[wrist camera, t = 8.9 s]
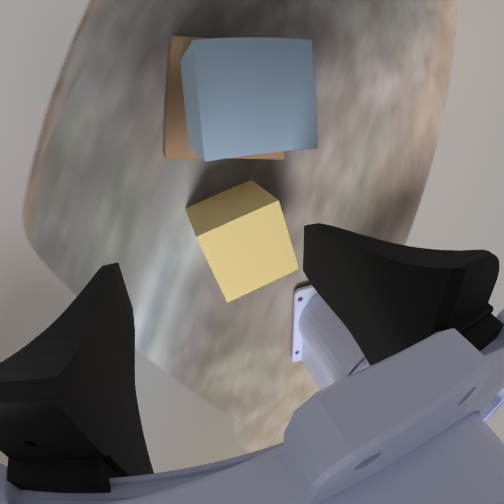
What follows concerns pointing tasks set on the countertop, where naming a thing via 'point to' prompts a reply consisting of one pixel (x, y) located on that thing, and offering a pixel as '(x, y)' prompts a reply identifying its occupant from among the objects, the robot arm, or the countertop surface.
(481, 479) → the robot arm
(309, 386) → the countertop surface
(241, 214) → the mustard cube
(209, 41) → the blue cube
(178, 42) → the walnut block
